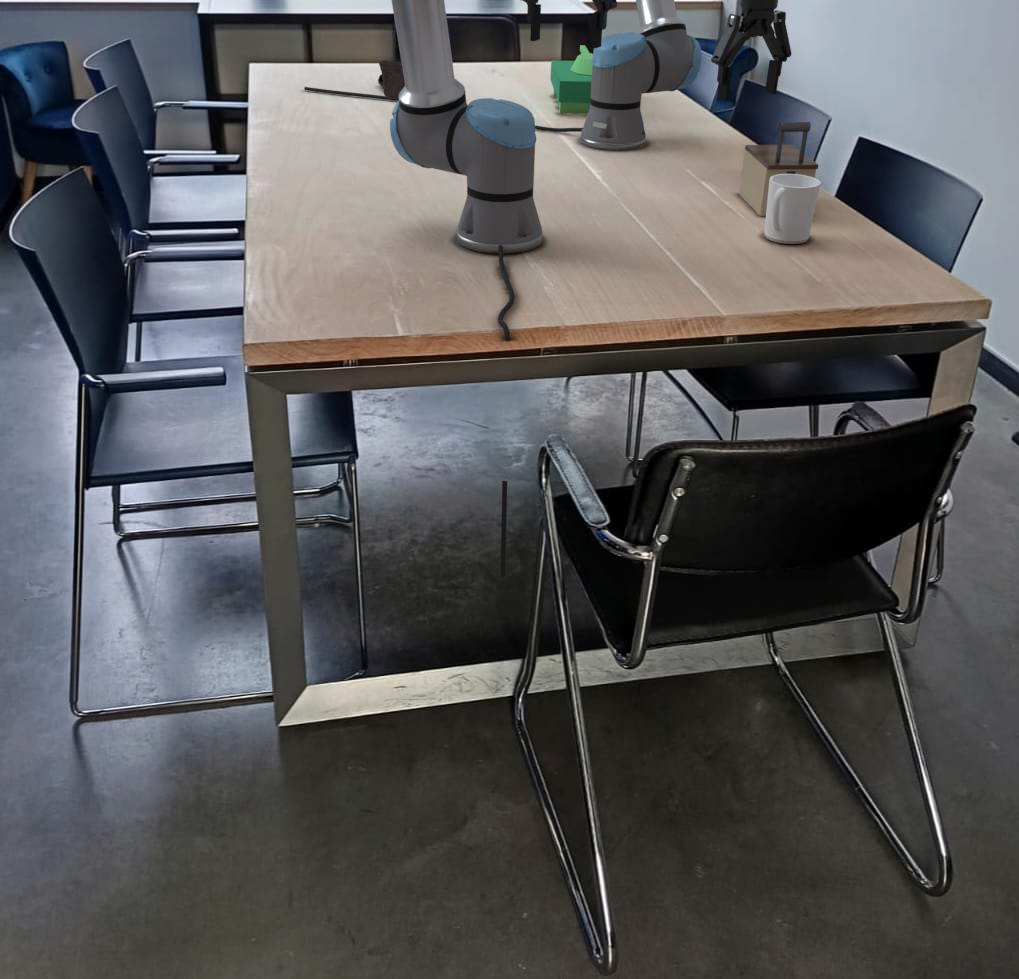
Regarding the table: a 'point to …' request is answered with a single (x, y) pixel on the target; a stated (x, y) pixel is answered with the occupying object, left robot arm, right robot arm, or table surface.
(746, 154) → the chest
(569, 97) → the toy tank
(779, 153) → the lid
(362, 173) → the table surface
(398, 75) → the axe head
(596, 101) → the right robot arm
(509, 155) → the left robot arm
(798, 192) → the mug
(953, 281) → the table surface
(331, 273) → the table surface
